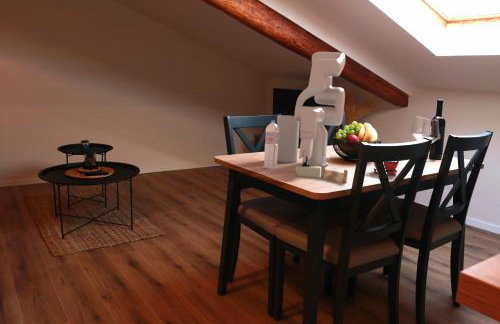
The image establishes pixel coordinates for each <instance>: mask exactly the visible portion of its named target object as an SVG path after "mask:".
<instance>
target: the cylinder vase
mask: <svg viewBox="0 0 500 324" xmlns="http://www.w3.org/2000/svg"><path fill="white" fill-rule="evenodd" d="M276 118H277V119H276V125H277V126H278V127H279V141H278V161H277V163H278V162H279V163H284V164H293V163H297V161H298V155H299V154H298V152H299V139H300V126H301V122H300V121H297V120H296V119H295V115H277V117H276Z"/></svg>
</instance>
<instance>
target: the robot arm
mask: <svg viewBox="0 0 500 324" xmlns="http://www.w3.org/2000/svg"><path fill="white" fill-rule="evenodd" d="M345 64H346V55H345V54H344V52H338V51H335V52H332V51H318V52H314V53H313V54H312V56H311V71H310V76H309V81H308V86H307V87H306V88H305V89H304V90H303V91H301V93H299V96H298V97H297V100H296V104H295V109H294V116H295V119H296V120H297V121H300V125H299V139H300V145H299V154H298V158H299V160H301V159H302V161H301V162H302V164H301V166H304V167H310V165H311V166H315V167H322V165H325V167H328V166H329V162H327V161H328V160H330V155H327V148H328V136H329V133H328V130H327V129H326V127H325V126H336V127H337V126H340V125H342V123H343V120H344V119H343V118H344V112H345V111H344V109H345V101H346V99H345V98H346V94H345V93H346V92H345V89H344V88H342V87H338V86H332V85H333V77H339V76H340V75H341V73H342V71H343V70H344V67H345ZM312 97H314V101H315V103H316V104H319V105H326V106H303V105H304V103H305V102H306V101H307V100H308V99H310V98H312ZM327 105H328V106H327ZM330 106H334V107H330Z"/></svg>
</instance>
